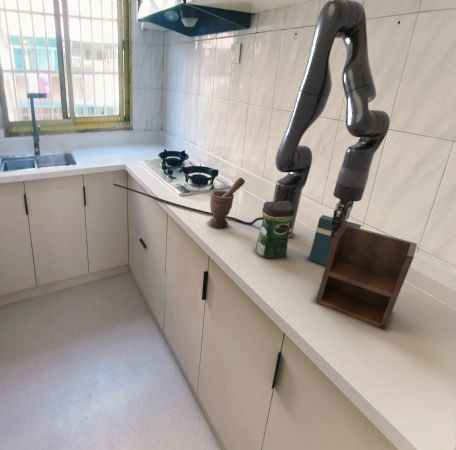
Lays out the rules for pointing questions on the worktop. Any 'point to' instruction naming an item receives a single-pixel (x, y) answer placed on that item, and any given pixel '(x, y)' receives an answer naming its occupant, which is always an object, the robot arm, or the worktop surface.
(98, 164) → the worktop surface
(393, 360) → the worktop surface
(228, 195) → the mortar and pestle
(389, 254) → the bookshelf
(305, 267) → the worktop surface
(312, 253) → the book
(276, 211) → the coffee jar
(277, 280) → the worktop surface
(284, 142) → the robot arm
